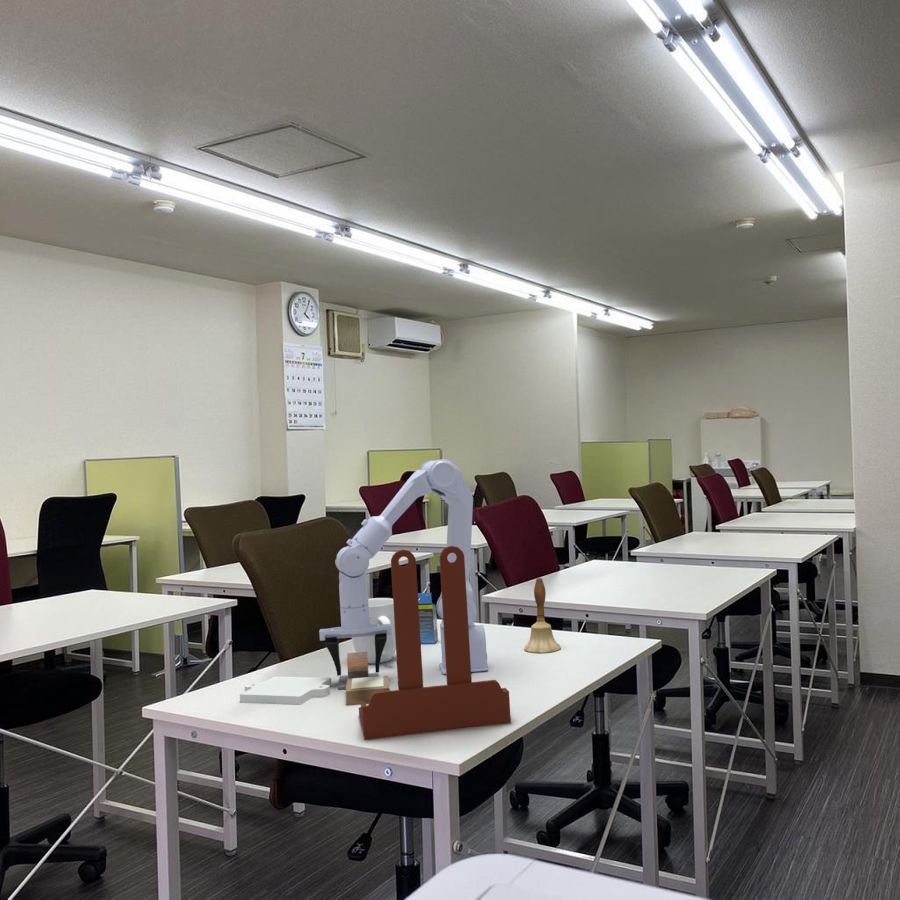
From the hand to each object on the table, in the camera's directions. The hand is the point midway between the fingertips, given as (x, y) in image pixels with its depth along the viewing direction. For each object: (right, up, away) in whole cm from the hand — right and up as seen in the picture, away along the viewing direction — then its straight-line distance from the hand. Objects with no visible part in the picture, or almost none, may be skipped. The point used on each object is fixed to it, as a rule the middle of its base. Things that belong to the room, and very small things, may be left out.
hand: (358, 672), depth 172 cm
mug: (+3, -2, +17) cm, 18 cm away
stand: (+3, -2, -11) cm, 11 cm away
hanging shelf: (+16, -1, -27) cm, 32 cm away
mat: (0, -2, 0) cm, 2 cm away
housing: (0, -1, 0) cm, 1 cm away
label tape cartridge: (+11, -2, +34) cm, 36 cm away
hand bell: (+40, 0, +20) cm, 44 cm away
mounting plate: (-13, -3, -5) cm, 15 cm away
